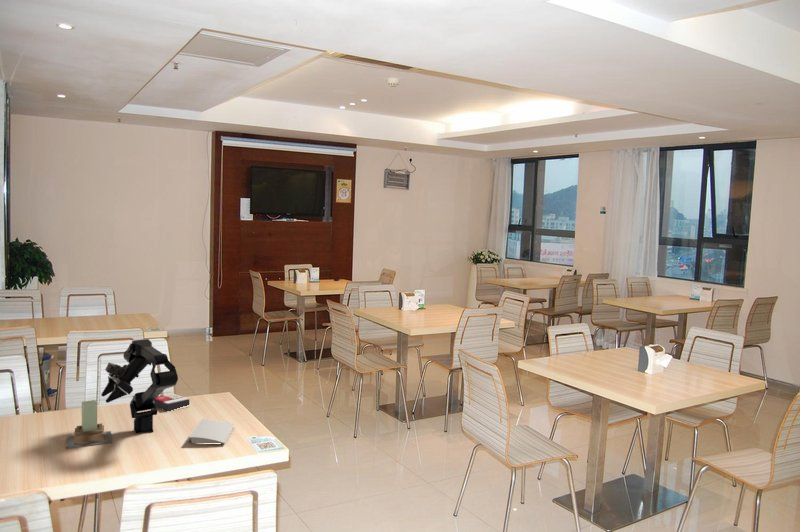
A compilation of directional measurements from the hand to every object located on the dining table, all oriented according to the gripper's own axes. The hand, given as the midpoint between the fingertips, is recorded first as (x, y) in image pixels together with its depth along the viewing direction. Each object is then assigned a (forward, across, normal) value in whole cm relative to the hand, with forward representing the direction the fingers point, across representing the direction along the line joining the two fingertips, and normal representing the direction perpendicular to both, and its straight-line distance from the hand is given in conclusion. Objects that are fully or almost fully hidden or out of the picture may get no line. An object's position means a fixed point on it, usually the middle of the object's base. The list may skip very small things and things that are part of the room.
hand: (104, 398), depth 239 cm
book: (-14, +24, +34) cm, 44 cm away
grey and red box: (-12, -23, +32) cm, 41 cm away
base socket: (+14, +6, +5) cm, 16 cm away
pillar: (+11, +6, +3) cm, 13 cm away
